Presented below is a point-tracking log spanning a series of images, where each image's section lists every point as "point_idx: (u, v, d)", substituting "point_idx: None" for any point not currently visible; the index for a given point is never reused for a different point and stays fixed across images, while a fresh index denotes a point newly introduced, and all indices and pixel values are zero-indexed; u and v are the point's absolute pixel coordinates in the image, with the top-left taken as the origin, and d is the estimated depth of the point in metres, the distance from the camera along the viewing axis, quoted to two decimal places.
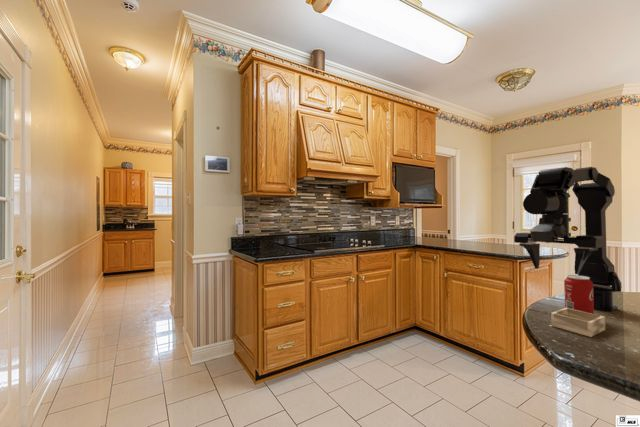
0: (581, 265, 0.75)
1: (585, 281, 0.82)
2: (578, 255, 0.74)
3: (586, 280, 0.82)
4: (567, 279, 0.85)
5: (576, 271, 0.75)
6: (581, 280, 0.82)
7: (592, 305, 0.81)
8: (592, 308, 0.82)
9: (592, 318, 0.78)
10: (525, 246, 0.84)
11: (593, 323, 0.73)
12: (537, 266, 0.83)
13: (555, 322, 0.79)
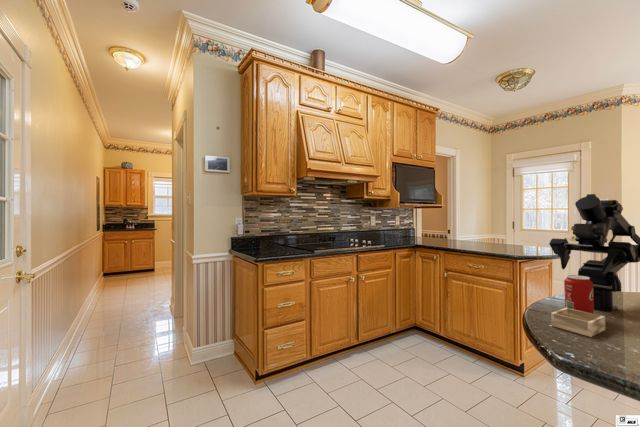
0: (609, 268, 0.82)
1: (585, 281, 0.82)
2: (610, 256, 0.82)
3: (586, 280, 0.82)
4: (567, 279, 0.85)
5: (603, 270, 0.82)
6: (581, 280, 0.82)
7: (592, 305, 0.81)
8: (592, 308, 0.82)
9: (592, 318, 0.78)
10: (559, 247, 0.92)
11: (593, 323, 0.73)
12: (564, 266, 0.90)
13: (555, 322, 0.79)
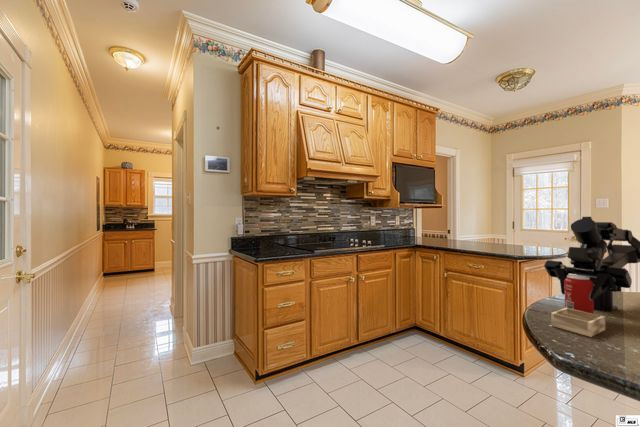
0: (598, 293, 0.81)
1: (585, 281, 0.82)
2: (599, 281, 0.81)
3: (586, 280, 0.82)
4: (567, 279, 0.85)
5: (592, 295, 0.81)
6: (581, 280, 0.82)
7: (592, 305, 0.81)
8: (592, 308, 0.82)
9: (592, 318, 0.78)
10: (559, 270, 0.89)
11: (593, 323, 0.73)
12: None
13: (555, 322, 0.79)
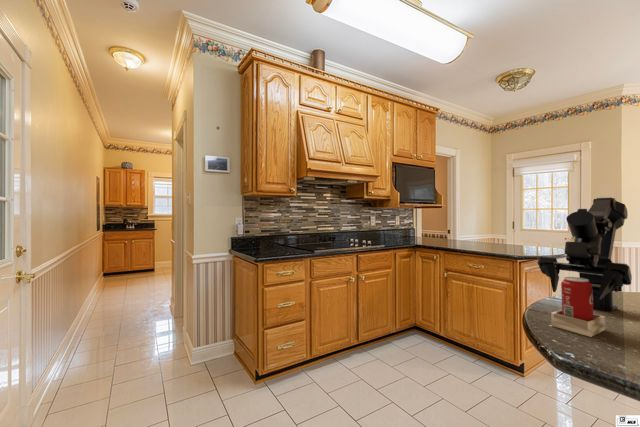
0: (605, 292, 0.73)
1: (585, 283, 0.75)
2: (606, 279, 0.74)
3: (586, 282, 0.75)
4: (565, 281, 0.78)
5: (599, 294, 0.73)
6: (580, 282, 0.76)
7: (592, 310, 0.75)
8: (592, 313, 0.75)
9: None
10: (549, 266, 0.83)
11: (593, 323, 0.73)
12: (555, 289, 0.81)
13: (555, 322, 0.79)
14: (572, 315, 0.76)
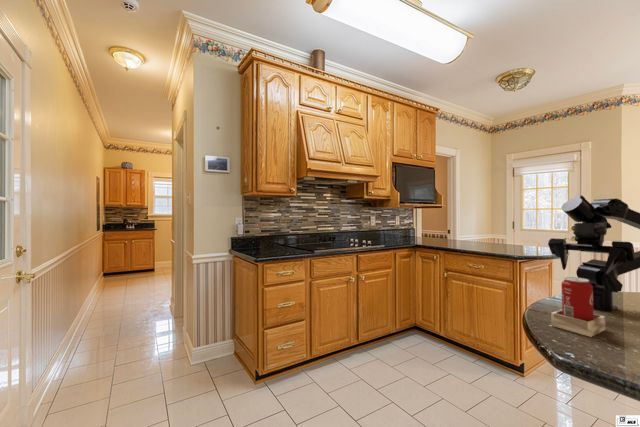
0: (610, 268, 0.81)
1: (585, 284, 0.75)
2: (611, 256, 0.82)
3: (586, 283, 0.75)
4: (565, 282, 0.78)
5: (606, 269, 0.81)
6: (581, 283, 0.75)
7: (592, 310, 0.75)
8: (592, 313, 0.75)
9: None
10: (559, 247, 0.91)
11: (593, 323, 0.73)
12: (564, 267, 0.88)
13: (555, 322, 0.79)
14: (572, 315, 0.76)
